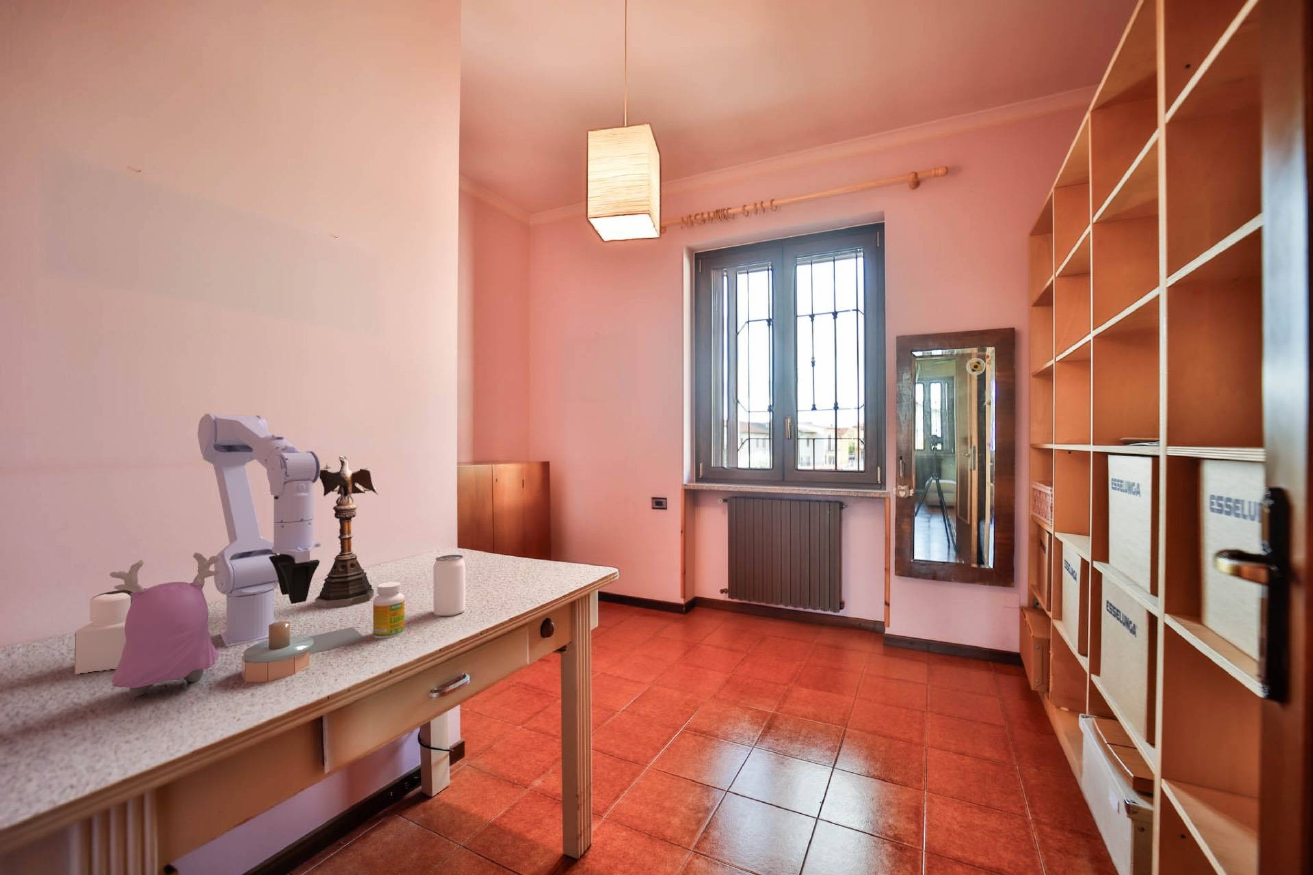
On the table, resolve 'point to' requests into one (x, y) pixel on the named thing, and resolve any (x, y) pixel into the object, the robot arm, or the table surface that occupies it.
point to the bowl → (274, 668)
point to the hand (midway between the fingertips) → (293, 597)
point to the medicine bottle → (103, 633)
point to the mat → (335, 639)
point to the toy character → (165, 631)
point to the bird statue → (345, 539)
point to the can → (449, 585)
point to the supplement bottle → (388, 611)
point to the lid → (278, 645)
